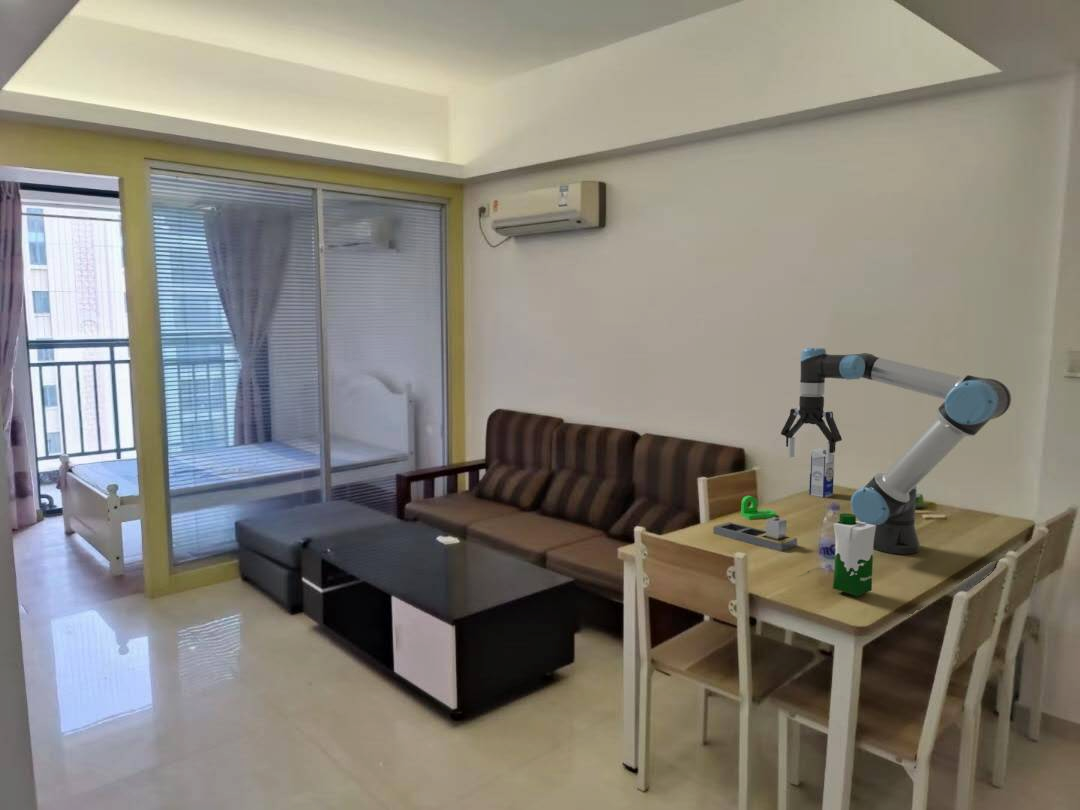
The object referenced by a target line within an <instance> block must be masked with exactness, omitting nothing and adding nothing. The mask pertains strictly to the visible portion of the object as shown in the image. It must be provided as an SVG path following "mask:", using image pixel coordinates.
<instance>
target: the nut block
mask: <svg viewBox="0 0 1080 810" xmlns="http://www.w3.org/2000/svg"><path fill="white" fill-rule="evenodd" d="M765 520H766V521H765V531H766V538H768V539H772V540H776V541H781V540H784V539H786V535H787V519H785V518H779V517H772V518H765Z"/></svg>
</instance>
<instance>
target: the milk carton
mask: <svg viewBox="0 0 1080 810" xmlns="http://www.w3.org/2000/svg"><path fill="white" fill-rule="evenodd" d="M834 474H835V454H834V453H833V460H832V462H831V463H826V449H823V448H820V447H818V448H813V449H810V464H809V492H808V494H809V496H811V497H818V498H823V499H825V498H829V497H832V496H834Z"/></svg>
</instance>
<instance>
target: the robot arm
mask: <svg viewBox="0 0 1080 810" xmlns="http://www.w3.org/2000/svg"><path fill="white" fill-rule="evenodd" d="M799 361H800V380H799V381H800V382H799V394H800V396H799V399H798V400H799V402H798V403H799V404H798V405H799V409H798V408H795V407H794V408H791V409H790V411H789V416H788V417H787V420H786V421H785V424H784V426H783V428H782V430H781V432H780V435H781V436H784V437H785V439H786V440H785V441H786V442H785V446H786V447H787V458H794V457H795V444H796V441H795V440H796V437H794V435H795V434H796V433H797V432H798V431H799V430H800V429H801V428H802V426H804V424H806V425H807V424H808V425H809V424H811V425H816V426H817V427H818V428H819V429H820V431H821V433H822V434H823V436H825V437H824V438H825V439H826V440H827V441H828V442H826V448H825V450H826V463H831V462H832V460H833V454H834V453H835V452H836V444H837V442H841V441H842V440H843V438H842V436H841V434H840V431H839V429H838V426H837V423H836V421H835V419H834V412H833V411H824V406H825V397H824V395H825V383H826V380H825V379H841V380H846V381H847V380H849V381H850V380H859V379H861V378H862V379H865V380H869V381H870V380H871V381H875V382H878V383H882V384H887V385H890V386H894V387H896V388H897V387H898V388H901V389H904V390H909V391H912V392H916V393H918V394H919V393H920V394H924V395H928V396H931V397H936V398H938V399H943V400H944V401H943V403H942V404H941V405H940V406H939V407H938V408H937V416H938V417H936V419H935V420H933V422H932V423H931V424H930V425H929V426H928V427H927V428H926V429H925V430H924V431H923V432H922V433H921V435H920V436H918V438H916V440H915V441H914V442H913V443H912V444H911V445H910V446H909V447H908V448H907V449H906V450H905V451H904V453H902V455H900V457H898V459H897V460H896V461H895V462H894V463H893V464H892V465H891V466H890V467H889V468H888V469H887V470H886V471H885V472H883V473H882V472H880V473H879V472H878V473H876V474H875V475H874V476H873V478H871V479H870V480H869V481H868V482H867V484H865V486H863V487H860V488H858V489H856V491H854V492H853V494H852V496H851V498H850V509H851V511H852V514H853V515H855V516H856V520H857V521H860V522H865V523H867V524H871V525H876V529H875V536H874V543H873V550H876V551H880V552H884V553H890V554H898V555H899V554H900V555H906V554H907V555H910V554H915V553H919V552H920V540H919V537H918V533H917V529H916V527H915V526H916V525H915V518H916V504H917V503H916V501H917V492H918V489H917V485H918V484H920V482H921V481H922V480H924V478H926V476H927V475H928V474H929V473H930V472H931V471H933V469H935V467H937V465H938V464H939V463H940V462H942V460H943V459H944V458H945V457H946V456H947V455H948V454H949V453H950V452H951V451H952V450H953V449H954V448H955V447H956V446H957V445H958V444H959V443H960V442H961V441H962V440H964V438H965V437H973V436H975V435H976V434H977V433H978V432H979V431H980V430H981V429H983V428H984V427H985V426H986V424H988V422H989V421H991V420H994V419H998V418H999V417H1002V416H1003V415H1004V414H1005V413H1006V412H1007V411H1008V410H1009V408H1010V406H1011V403H1012V396H1011V392H1010V390H1009V388H1008V387H1007V385H1005V384H1004V383H1003V382H1002V381H999V380H997V379H994V378H987V377H984V378H983V377H980V376H974V375H969V374H967V375H965V376H958V375H954V374H950V373H945V372H941V371H937V370H934V369H929V368H924V367H922V366H915V365H914V364H913V365H912V364H907V363H903V362H899V361H895V360H891V359H886V358H883V357H878V356H876V355H874V354H871V353H866V352H863V353H855V354H853V353H852V354H850V353H849V354H828V353H827V350H826V348H824V347H805V348H803V349H802V350H801V354H800V360H799ZM797 416H799V418H798V419H797V421H796V423H795V424H794V422H795V420H796V418H797ZM823 417H824V419H825V420H824V419H823ZM825 421H826V422H825ZM826 423H827V425H826ZM793 424H794V425H793Z"/></svg>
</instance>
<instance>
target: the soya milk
mask: <svg viewBox="0 0 1080 810" xmlns="http://www.w3.org/2000/svg"><path fill="white" fill-rule="evenodd" d="M875 529H876V525H871V524H867V523H865V522H861V521H859V520H857V518H856V516H855V515H854V514H853V513H840V514H839V521H837V522H835V523H833V530H834V536H835V543H834V570H833V582H832V589H833V590H836V591H840V592H843V593H846V594H850V595H852V596H853V595H854V596H856V597H858V596H861V595H864V594H866V593H868V592H871V591H873V589H872V588H873V560H874V549H873V543H874V536H875Z"/></svg>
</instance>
